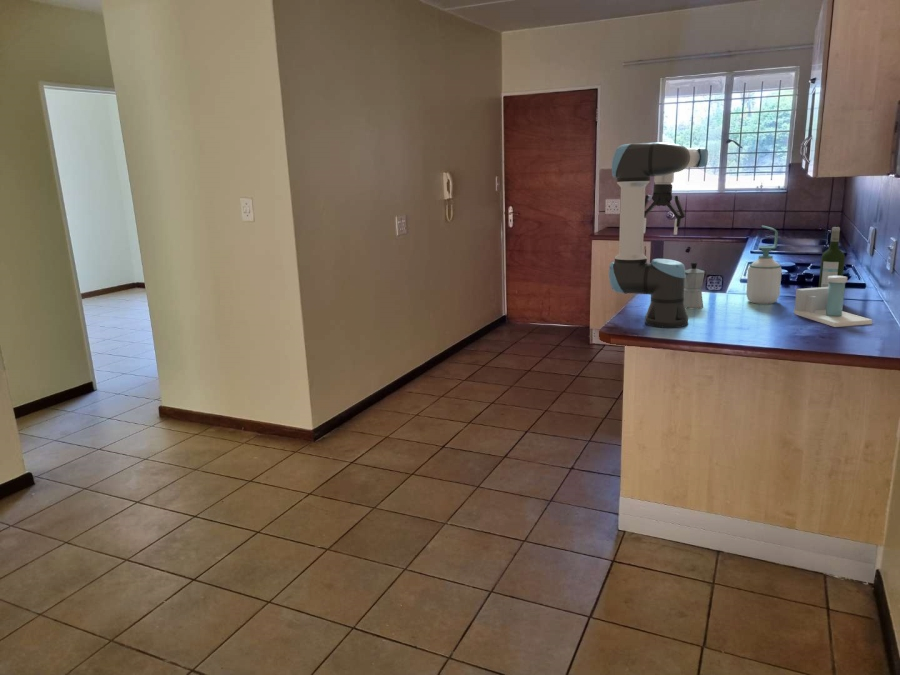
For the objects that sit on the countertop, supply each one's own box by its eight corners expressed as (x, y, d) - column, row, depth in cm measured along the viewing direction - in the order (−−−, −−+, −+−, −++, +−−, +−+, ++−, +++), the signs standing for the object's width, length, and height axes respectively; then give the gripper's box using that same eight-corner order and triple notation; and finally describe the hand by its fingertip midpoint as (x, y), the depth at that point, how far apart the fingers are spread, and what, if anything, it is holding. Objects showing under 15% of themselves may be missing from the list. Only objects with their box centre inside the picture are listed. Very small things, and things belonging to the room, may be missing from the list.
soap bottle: (744, 298, 274) (749, 224, 266) (777, 299, 270) (783, 223, 262) (747, 304, 263) (752, 227, 255) (781, 305, 259) (787, 226, 251)
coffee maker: (693, 310, 258) (695, 265, 253) (673, 307, 264) (675, 263, 260) (713, 304, 267) (715, 260, 262) (693, 301, 273) (695, 259, 269)
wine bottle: (838, 301, 261) (846, 226, 253) (841, 305, 254) (849, 228, 246) (816, 300, 264) (823, 226, 256) (817, 304, 257) (825, 228, 250)
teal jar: (847, 315, 231) (851, 277, 227) (831, 316, 230) (835, 278, 227) (835, 312, 237) (839, 275, 233) (820, 313, 236) (823, 276, 233)
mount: (871, 323, 225) (875, 297, 223) (834, 327, 223) (837, 300, 221) (828, 311, 246) (830, 286, 244) (793, 313, 245) (796, 288, 242)
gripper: (695, 183, 273) (690, 234, 278) (636, 183, 286) (633, 232, 291) (691, 183, 267) (686, 235, 272) (631, 183, 280) (628, 233, 285)
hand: (659, 234), depth 282 cm, fingers open, 13 cm apart
